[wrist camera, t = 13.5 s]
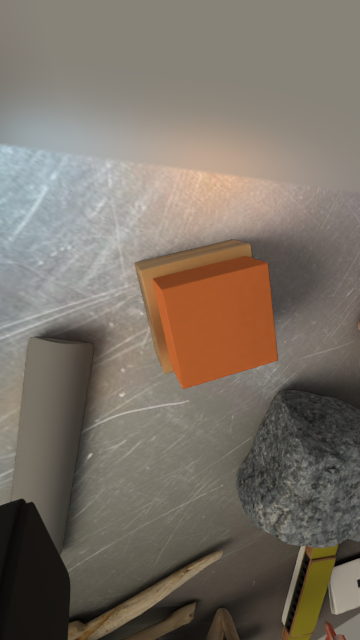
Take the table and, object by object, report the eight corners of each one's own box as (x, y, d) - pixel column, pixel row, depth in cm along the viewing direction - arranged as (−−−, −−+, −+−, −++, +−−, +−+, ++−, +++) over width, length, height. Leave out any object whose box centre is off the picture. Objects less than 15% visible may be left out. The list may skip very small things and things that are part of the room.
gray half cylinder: (95, 336, 24) (96, 346, 22) (61, 555, 29) (59, 576, 27) (29, 329, 22) (24, 338, 21) (5, 558, 27) (-1, 581, 26)
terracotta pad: (151, 278, 20) (161, 289, 18) (245, 255, 21) (268, 262, 19) (171, 367, 22) (182, 389, 20) (256, 342, 23) (278, 360, 21)
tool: (211, 528, 32) (223, 559, 30) (220, 543, 34) (233, 574, 31) (43, 630, 31) (40, 672, 28) (59, 642, 32) (58, 684, 29)
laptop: (325, 604, 39) (336, 620, 37) (319, 559, 38) (330, 573, 36) (380, 584, 40) (394, 599, 38) (376, 541, 40) (390, 553, 38)
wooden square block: (134, 262, 23) (140, 270, 20) (232, 239, 24) (251, 243, 21) (156, 355, 25) (164, 374, 22) (245, 331, 26) (263, 345, 24)
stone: (321, 487, 35) (355, 395, 34) (392, 551, 28) (438, 436, 26) (216, 484, 29) (252, 374, 28) (270, 560, 22) (321, 419, 21)
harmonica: (342, 542, 34) (329, 525, 36) (315, 547, 33) (303, 529, 35) (311, 645, 38) (301, 624, 40) (286, 650, 37) (277, 630, 39)
